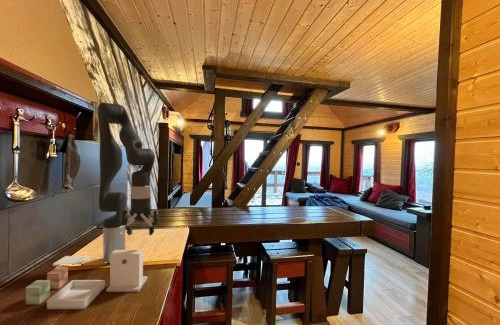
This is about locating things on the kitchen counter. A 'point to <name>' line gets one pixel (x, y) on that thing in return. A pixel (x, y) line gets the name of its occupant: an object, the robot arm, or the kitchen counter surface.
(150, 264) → the kitchen counter surface
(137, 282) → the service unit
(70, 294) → the tray
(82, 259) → the external hard drive
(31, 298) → the sage block
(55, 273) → the terracotta block
